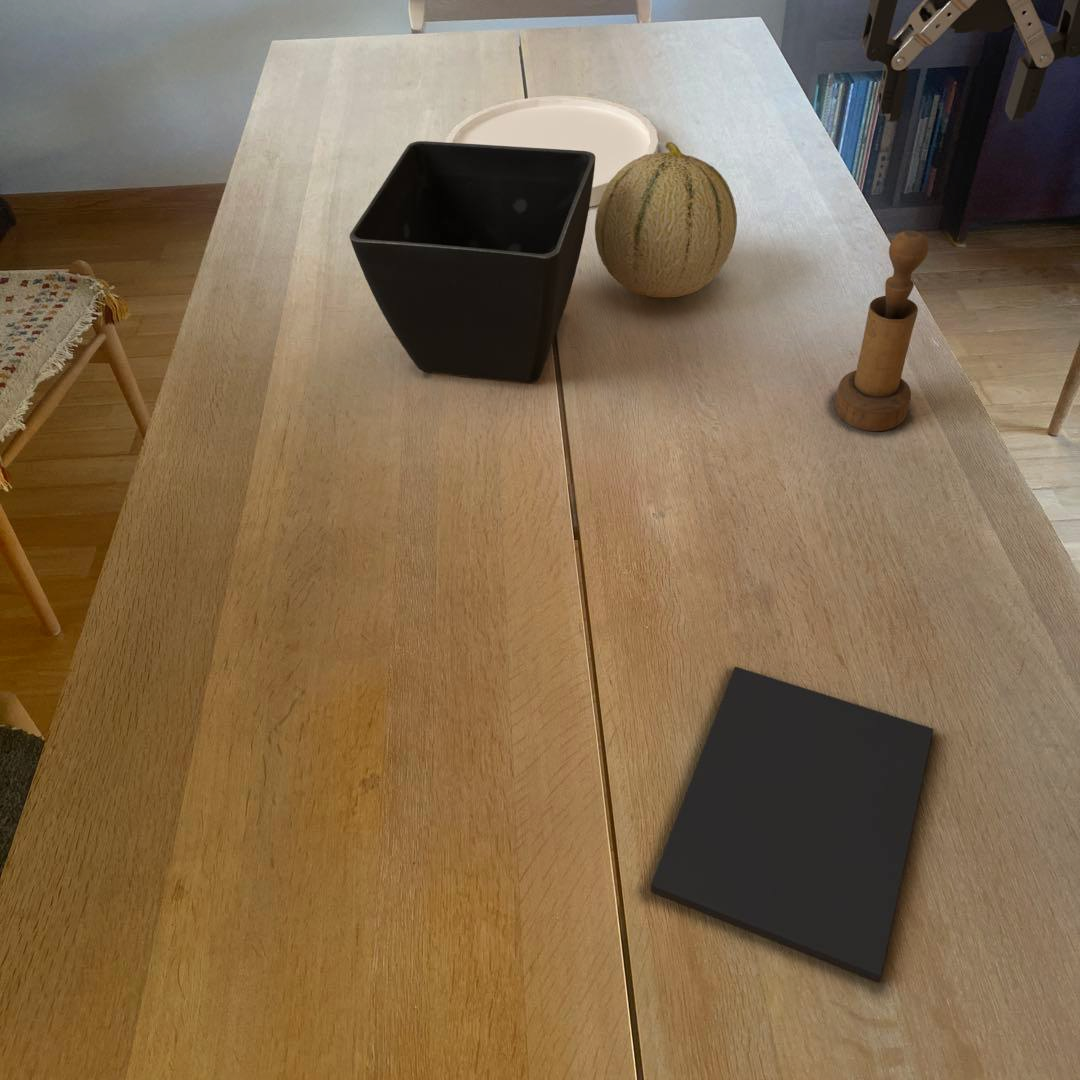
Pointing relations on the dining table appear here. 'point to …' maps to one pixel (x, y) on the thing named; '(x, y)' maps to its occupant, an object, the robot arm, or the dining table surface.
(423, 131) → the dining table surface
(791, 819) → the mat
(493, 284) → the flower pot
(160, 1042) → the dining table surface
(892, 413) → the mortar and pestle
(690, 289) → the cantaloupe
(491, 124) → the plate
